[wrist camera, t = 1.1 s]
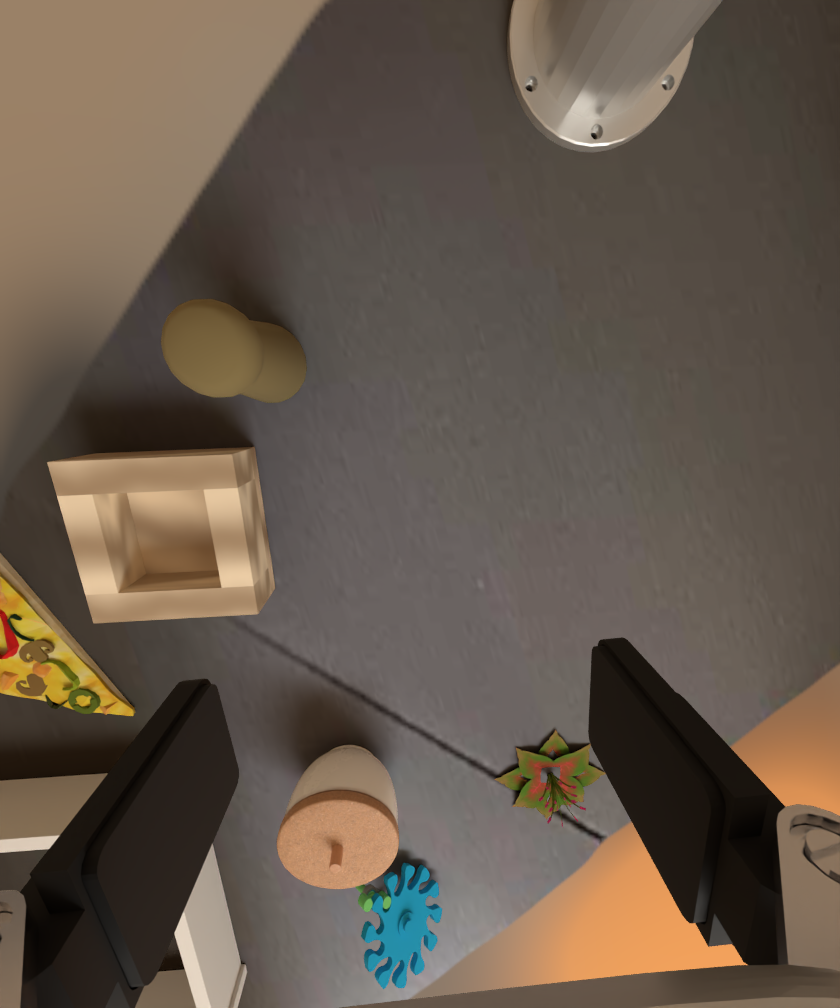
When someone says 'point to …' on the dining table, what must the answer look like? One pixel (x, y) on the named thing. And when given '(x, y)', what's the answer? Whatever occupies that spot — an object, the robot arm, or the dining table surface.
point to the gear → (399, 923)
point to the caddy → (167, 532)
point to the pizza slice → (47, 655)
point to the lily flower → (551, 777)
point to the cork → (231, 353)
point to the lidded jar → (340, 821)
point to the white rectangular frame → (203, 925)
